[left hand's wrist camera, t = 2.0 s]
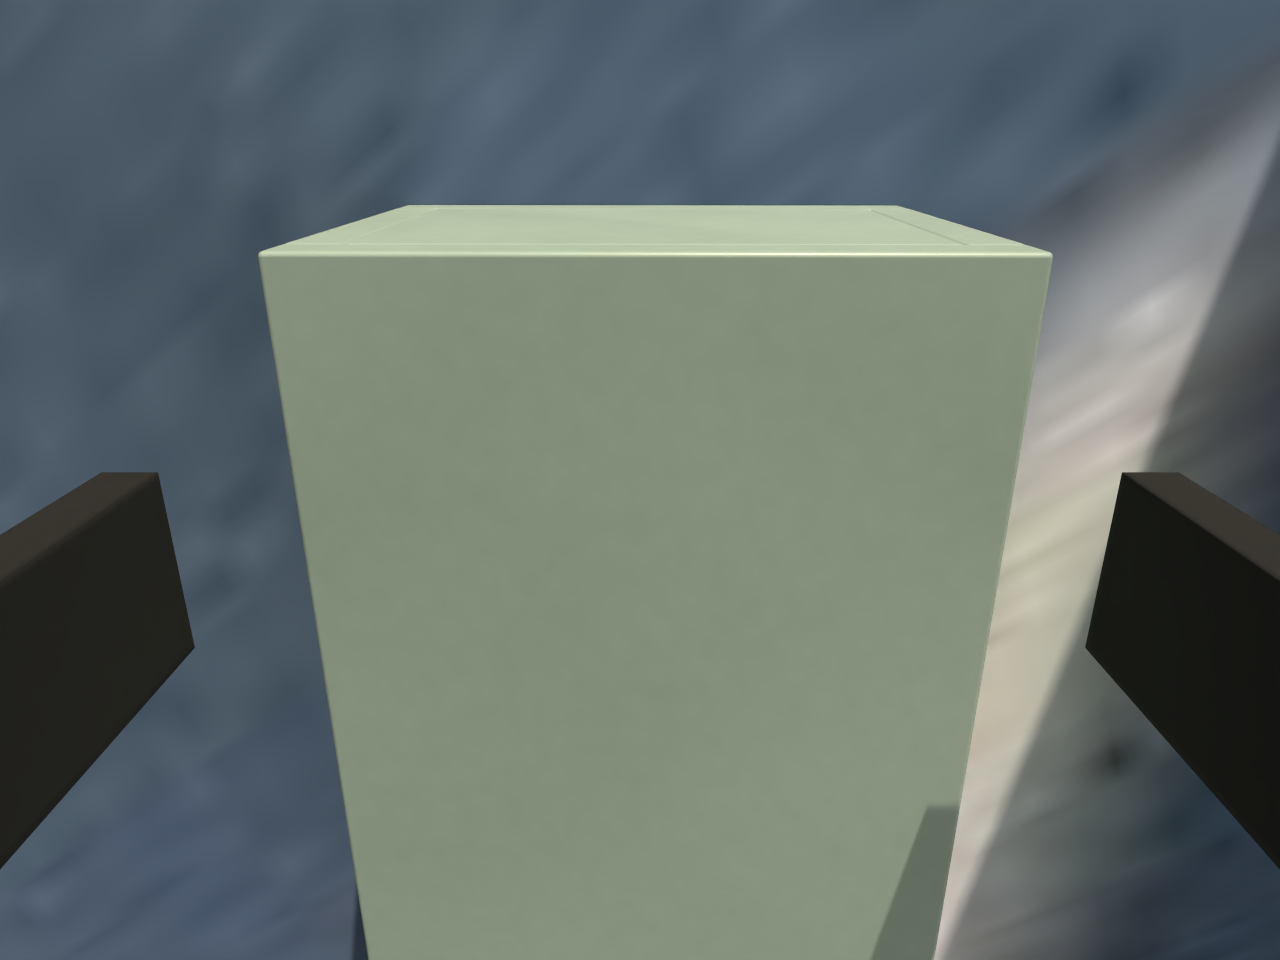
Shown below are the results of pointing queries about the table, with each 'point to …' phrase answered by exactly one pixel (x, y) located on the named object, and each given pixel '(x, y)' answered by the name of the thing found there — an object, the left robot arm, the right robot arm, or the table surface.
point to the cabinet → (653, 565)
